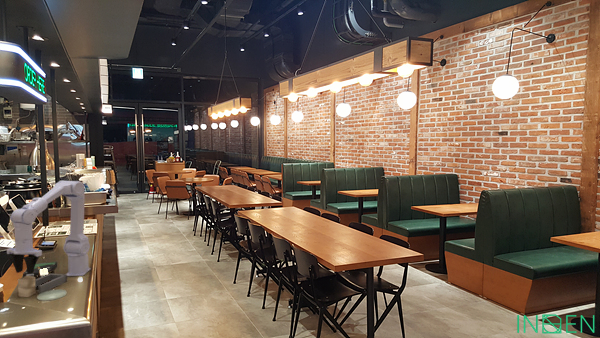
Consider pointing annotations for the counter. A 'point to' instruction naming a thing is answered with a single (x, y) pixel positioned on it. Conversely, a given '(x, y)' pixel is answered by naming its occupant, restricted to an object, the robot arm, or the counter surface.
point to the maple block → (26, 286)
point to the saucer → (51, 295)
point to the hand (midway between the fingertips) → (25, 272)
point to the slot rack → (50, 282)
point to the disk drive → (49, 266)
